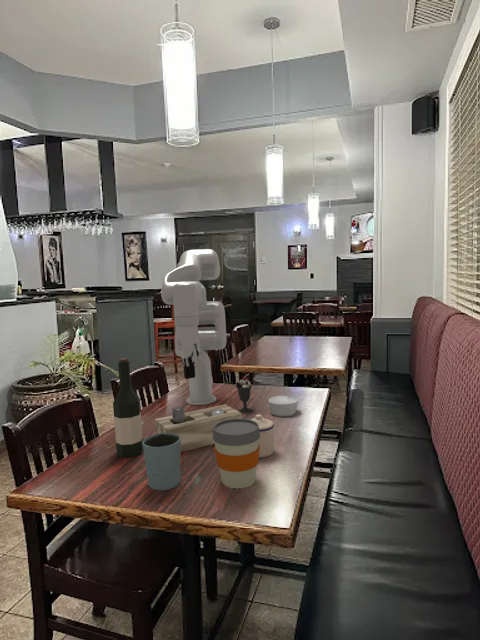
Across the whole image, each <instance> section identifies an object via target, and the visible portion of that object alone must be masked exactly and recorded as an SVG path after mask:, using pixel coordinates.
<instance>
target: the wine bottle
mask: <svg viewBox="0 0 480 640" xmlns="http://www.w3.org/2000/svg"><path fill="white" fill-rule="evenodd" d="M128 359H129V358H127V357H122V358H119V359H118V362H117V366H118V367H117V368H118V379H119V389H118V392H117V395H116V396H115V398H114V400H113V402H112V408H113V420H114V421H113V422H114V435H115V446H116V449H115V450H116V455H117V456H118V457H120V458H123V459H129V458H135V457H137V456H139V455H142V454H143V453H144V450H143V444H142V442H143V440H144V437H143V423H142V422H143V421H142V409H141V408H142V407H141V398H140V397H139V395H138V394H137V393H136V391H134V389H133V387H132V381H131V380H132V379H131V367H130V360H128Z"/></svg>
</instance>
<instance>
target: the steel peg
mask: <svg viewBox="0 0 480 640" xmlns="http://www.w3.org/2000/svg"><path fill="white" fill-rule="evenodd" d="M220 414H224V410H222V409H215V410H213V411H212V416H215V415H220Z"/></svg>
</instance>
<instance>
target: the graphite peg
mask: <svg viewBox="0 0 480 640" xmlns="http://www.w3.org/2000/svg"><path fill="white" fill-rule="evenodd" d="M185 411H186V410H185V407H184V406H174V407H172V408H171V413H172V414H171V416H172V418H173V424H179V423H183V422H185V413H186V412H185Z"/></svg>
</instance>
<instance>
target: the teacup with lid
mask: <svg viewBox="0 0 480 640" xmlns="http://www.w3.org/2000/svg"><path fill="white" fill-rule="evenodd" d="M254 416H255V417H253V418H251V419H250V420H253V421H255V422H257V423H258V424H259V431H260V438H259V443H258V444H259V445H260V450H259V458H266V457H269V456H271V455H273V454H274V452H275V439H274V427H275V424H274V422H273V421H272V420H271V419H268V418H265V417H263V416H262V414H259V413H258V414H256V415H254Z"/></svg>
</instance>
